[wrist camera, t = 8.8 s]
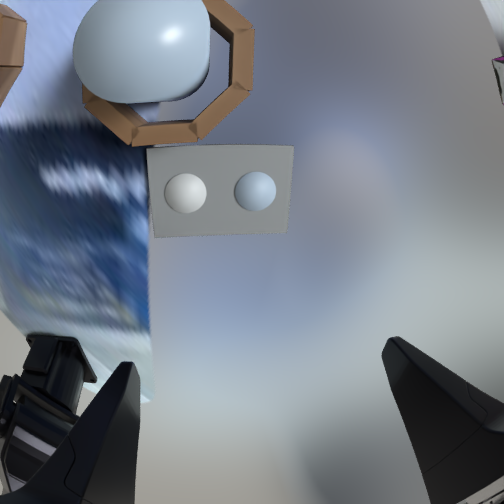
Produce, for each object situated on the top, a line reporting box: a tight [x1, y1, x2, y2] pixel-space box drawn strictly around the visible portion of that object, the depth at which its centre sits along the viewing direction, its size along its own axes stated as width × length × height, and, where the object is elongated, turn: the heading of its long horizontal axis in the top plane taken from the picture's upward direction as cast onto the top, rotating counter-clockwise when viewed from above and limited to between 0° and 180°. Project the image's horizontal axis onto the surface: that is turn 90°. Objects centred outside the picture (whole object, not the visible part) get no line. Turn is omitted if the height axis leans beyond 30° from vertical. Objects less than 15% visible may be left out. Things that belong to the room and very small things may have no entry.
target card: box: [147, 144, 294, 238], centre depth 18 cm, size 6×9×1 cm, turn 88°
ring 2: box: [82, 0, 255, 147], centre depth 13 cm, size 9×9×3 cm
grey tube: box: [73, 0, 210, 103], centre depth 10 cm, size 4×4×9 cm
